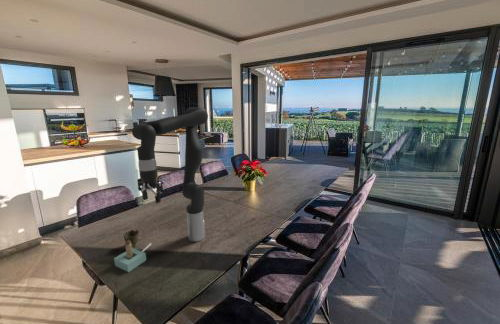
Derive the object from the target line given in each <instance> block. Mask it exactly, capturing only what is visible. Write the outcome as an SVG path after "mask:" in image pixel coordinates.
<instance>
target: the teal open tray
mask: <svg viewBox="0 0 500 324" xmlns="http://www.w3.org/2000/svg"><path fill="white" fill-rule="evenodd" d="M132 253H133V258H131V259H130V260H128V259H127V253H126V251H125V252H122V253H120V254H119V255H118V256H116V257H114V258H113V261H114V262H113V263H114V266H115V267H116V268H118V269H121V270H123V271H125V272H128V273H130V272H131V271H133V270H134V269H136V268H137V267H138V266H140V265H142V264H143V263H144V262H145V261H147V254H146V252H145V251H144V252H142V250H139V249H136V248H135V247H132Z"/></svg>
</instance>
